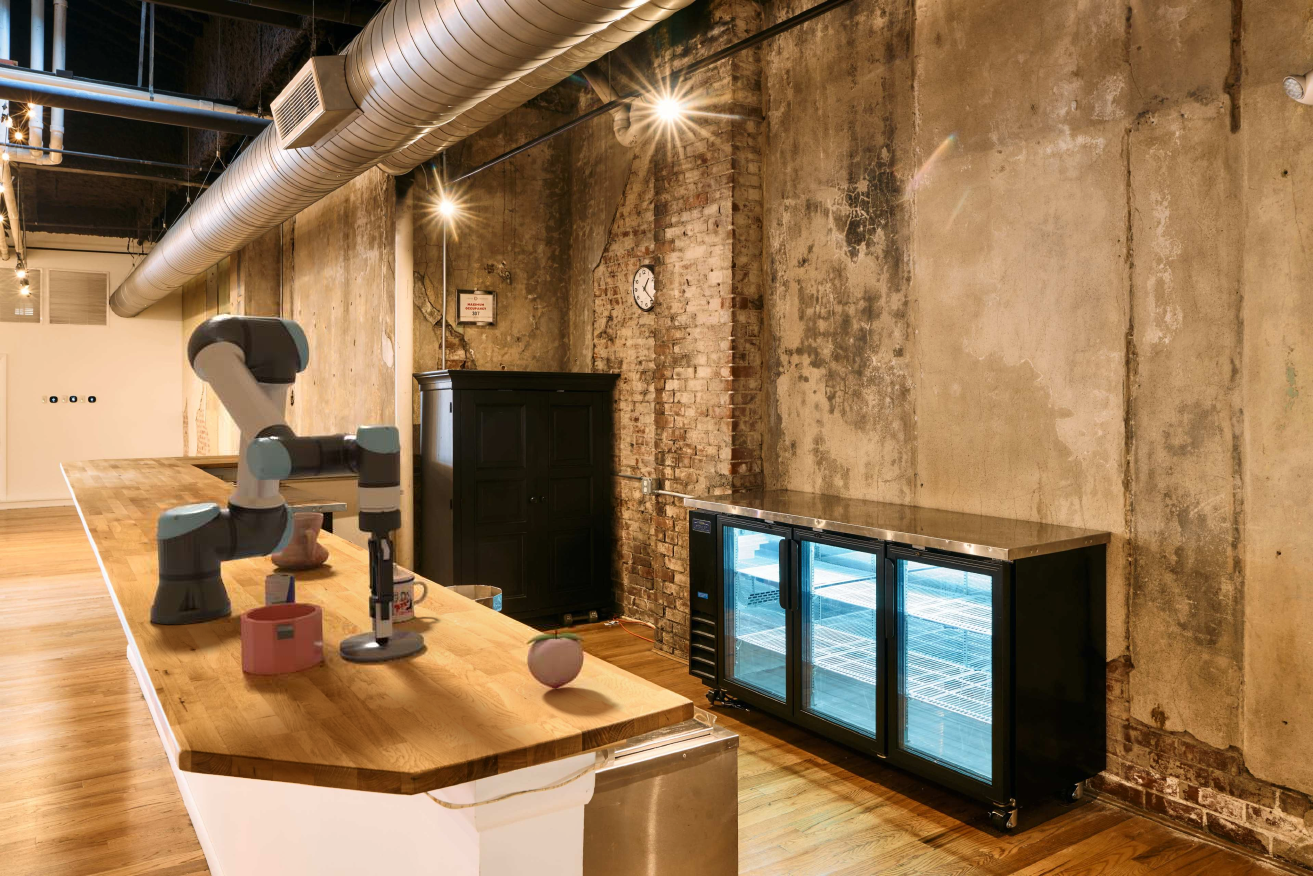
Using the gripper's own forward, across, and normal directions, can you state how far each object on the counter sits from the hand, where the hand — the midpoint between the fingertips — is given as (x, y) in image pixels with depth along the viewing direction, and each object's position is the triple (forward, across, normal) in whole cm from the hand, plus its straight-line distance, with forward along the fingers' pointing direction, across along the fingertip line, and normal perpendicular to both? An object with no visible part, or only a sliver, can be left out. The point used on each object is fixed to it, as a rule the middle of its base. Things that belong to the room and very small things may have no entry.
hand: (382, 632), depth 159 cm
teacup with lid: (+3, +21, -7) cm, 23 cm away
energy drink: (+3, +18, +16) cm, 24 cm away
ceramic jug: (+3, +84, +8) cm, 85 cm away
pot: (+3, 0, +17) cm, 17 cm away
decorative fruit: (+3, -35, -22) cm, 41 cm away
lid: (+3, 0, 0) cm, 3 cm away
